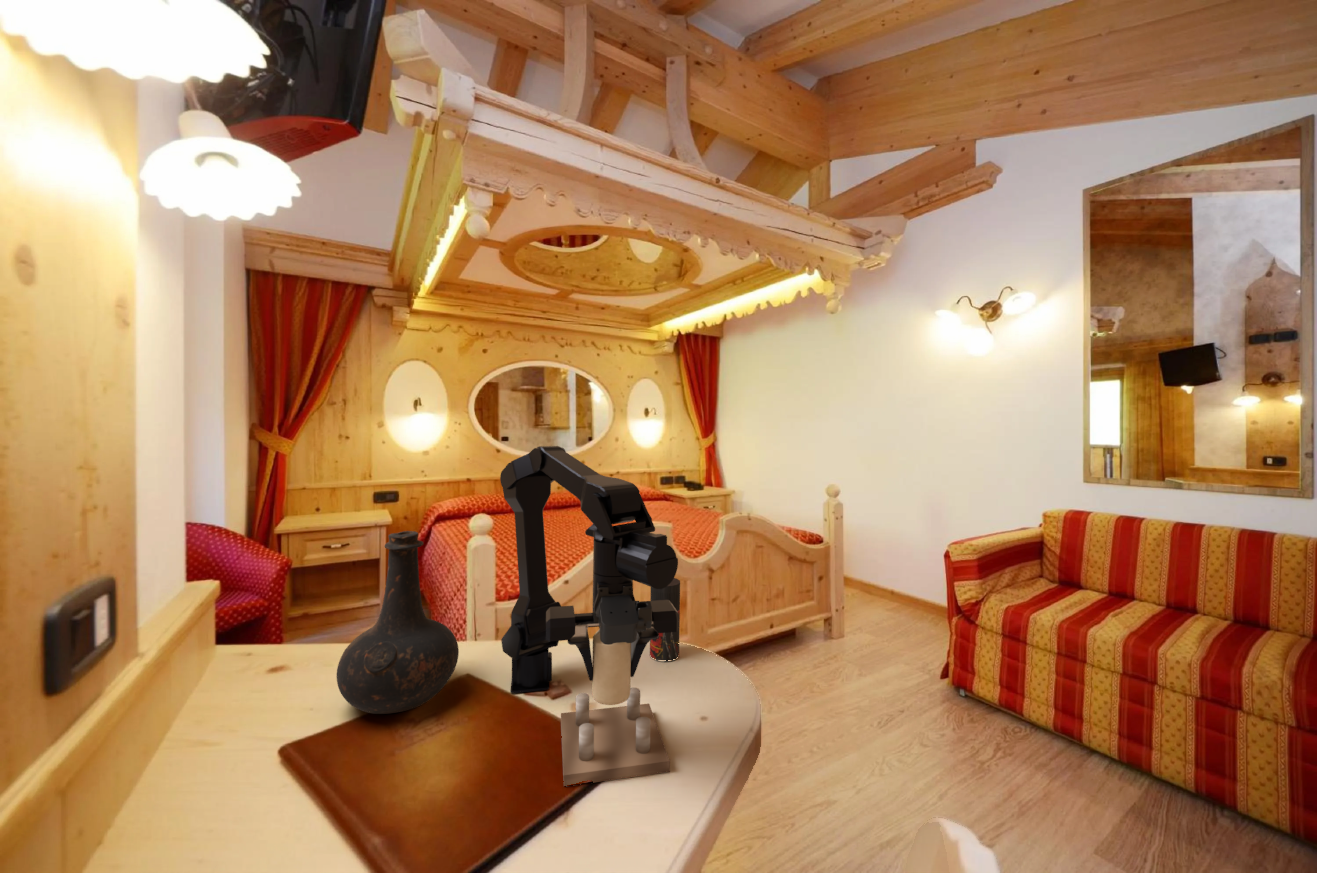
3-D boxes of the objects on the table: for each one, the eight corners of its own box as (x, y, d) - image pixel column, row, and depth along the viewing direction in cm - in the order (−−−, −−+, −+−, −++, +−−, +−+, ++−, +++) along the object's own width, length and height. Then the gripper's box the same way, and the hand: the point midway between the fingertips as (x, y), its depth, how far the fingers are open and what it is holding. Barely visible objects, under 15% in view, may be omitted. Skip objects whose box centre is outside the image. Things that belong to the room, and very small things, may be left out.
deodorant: (684, 659, 100) (685, 584, 99) (656, 664, 97) (657, 587, 97) (671, 646, 105) (672, 575, 105) (645, 651, 103) (646, 578, 102)
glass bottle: (311, 732, 75) (310, 545, 74) (375, 672, 93) (375, 521, 92) (432, 731, 76) (432, 546, 75) (472, 672, 94) (473, 522, 93)
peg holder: (563, 786, 65) (564, 744, 64) (560, 722, 78) (561, 687, 78) (669, 771, 68) (670, 731, 67) (649, 712, 81) (649, 679, 81)
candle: (624, 708, 70) (625, 636, 69) (586, 702, 71) (587, 632, 70) (634, 687, 75) (635, 621, 75) (599, 682, 76) (600, 617, 76)
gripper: (546, 593, 62) (545, 717, 63) (691, 585, 66) (688, 701, 67) (546, 567, 73) (545, 672, 74) (671, 561, 77) (669, 661, 78)
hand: (611, 677), depth 73 cm, fingers closed on candle, 5 cm apart
